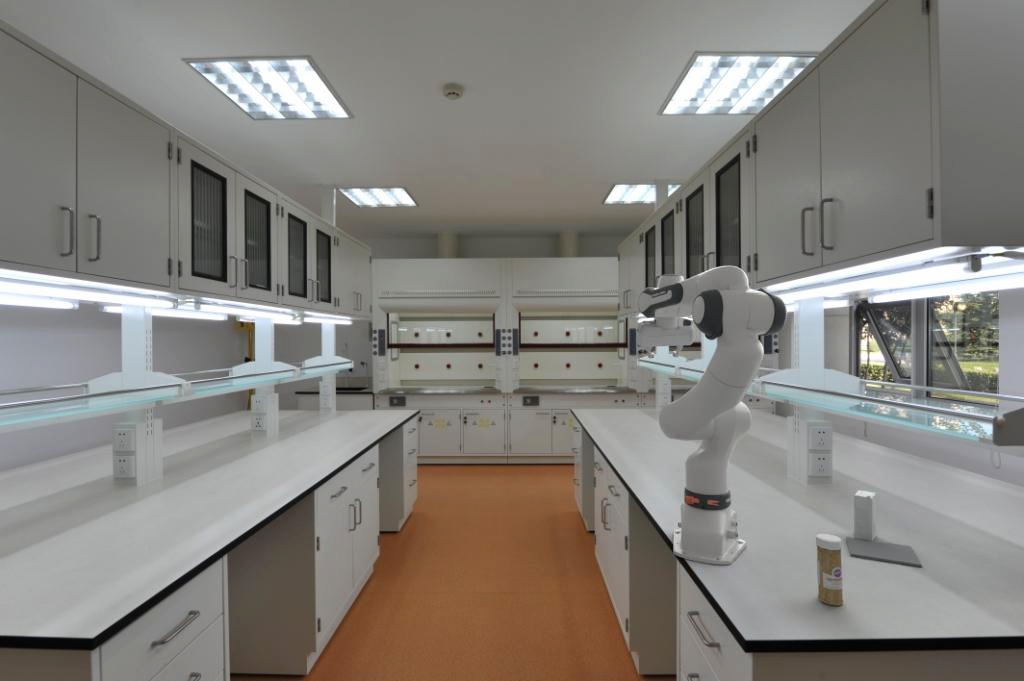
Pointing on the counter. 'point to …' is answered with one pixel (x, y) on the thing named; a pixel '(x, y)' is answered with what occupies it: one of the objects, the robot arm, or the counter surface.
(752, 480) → the counter surface
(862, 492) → the skincare box
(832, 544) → the sprinkles bottle
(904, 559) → the mat
